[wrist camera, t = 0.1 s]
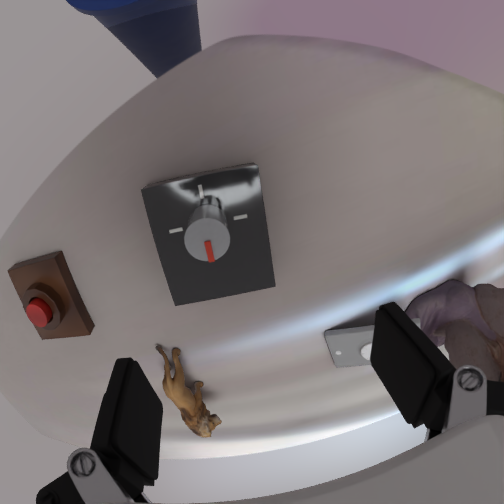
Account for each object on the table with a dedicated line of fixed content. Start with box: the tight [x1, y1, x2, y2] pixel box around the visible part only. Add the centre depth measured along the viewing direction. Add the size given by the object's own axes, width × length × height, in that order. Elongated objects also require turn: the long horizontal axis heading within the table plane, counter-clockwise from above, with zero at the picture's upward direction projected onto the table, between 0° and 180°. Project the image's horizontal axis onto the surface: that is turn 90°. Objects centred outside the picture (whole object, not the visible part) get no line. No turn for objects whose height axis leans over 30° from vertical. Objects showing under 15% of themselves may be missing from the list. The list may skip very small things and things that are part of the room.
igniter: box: [8, 251, 94, 340], centre depth 31 cm, size 12×10×4 cm
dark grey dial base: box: [141, 163, 275, 306], centre depth 31 cm, size 14×12×3 cm
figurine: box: [405, 280, 504, 382], centre depth 32 cm, size 18×15×25 cm
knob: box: [184, 205, 230, 262], centre depth 27 cm, size 4×4×5 cm
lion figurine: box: [156, 346, 222, 437], centre depth 37 cm, size 15×5×9 cm, turn 26°
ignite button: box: [26, 298, 52, 327], centre depth 29 cm, size 4×4×2 cm
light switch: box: [325, 318, 421, 367], centre depth 40 cm, size 8×6×14 cm
